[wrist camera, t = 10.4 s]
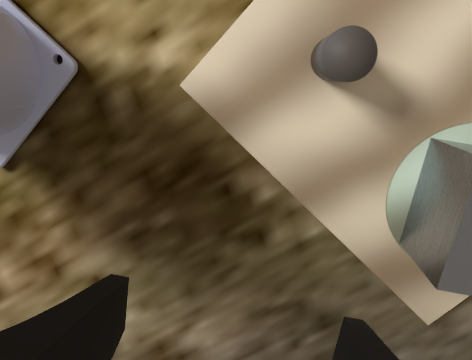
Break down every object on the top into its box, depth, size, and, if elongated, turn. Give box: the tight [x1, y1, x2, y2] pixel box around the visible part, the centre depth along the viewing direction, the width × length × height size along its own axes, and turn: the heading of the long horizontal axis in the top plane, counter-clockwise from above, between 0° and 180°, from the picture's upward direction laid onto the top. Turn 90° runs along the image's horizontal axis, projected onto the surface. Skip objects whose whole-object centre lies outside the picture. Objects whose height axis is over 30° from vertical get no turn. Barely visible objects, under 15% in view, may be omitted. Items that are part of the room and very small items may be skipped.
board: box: [180, 0, 472, 325], centre depth 17 cm, size 19×12×6 cm, turn 46°
